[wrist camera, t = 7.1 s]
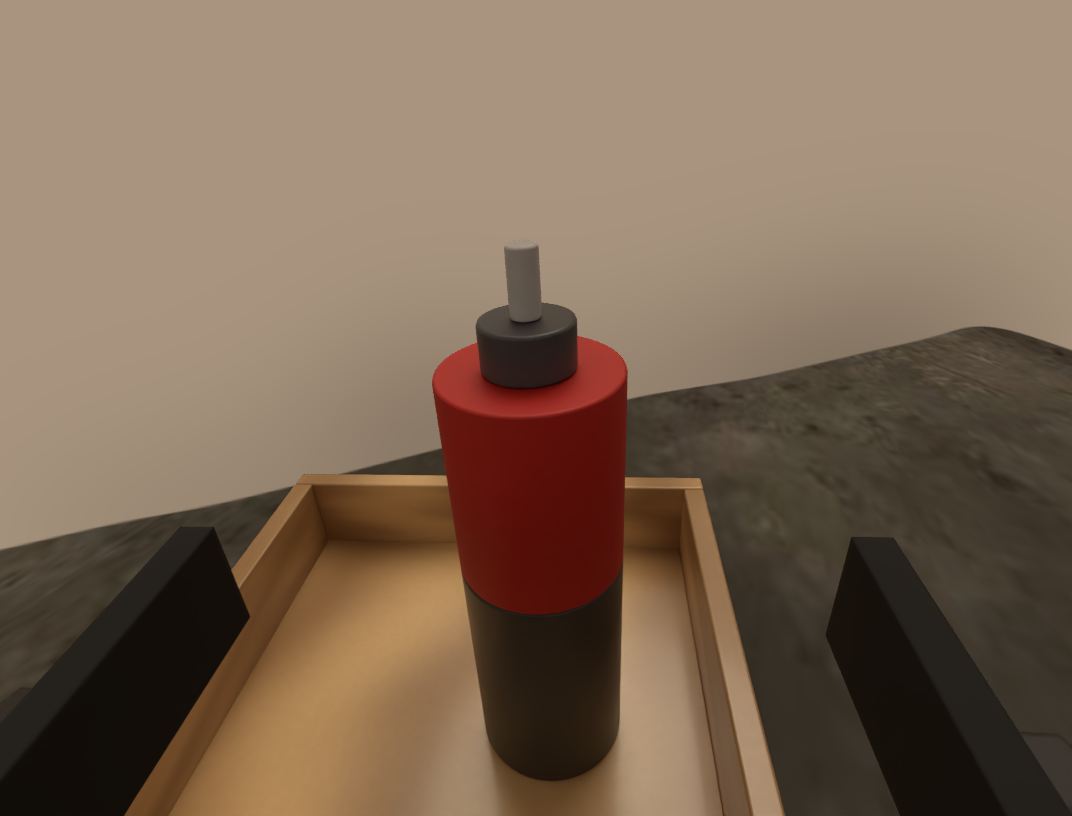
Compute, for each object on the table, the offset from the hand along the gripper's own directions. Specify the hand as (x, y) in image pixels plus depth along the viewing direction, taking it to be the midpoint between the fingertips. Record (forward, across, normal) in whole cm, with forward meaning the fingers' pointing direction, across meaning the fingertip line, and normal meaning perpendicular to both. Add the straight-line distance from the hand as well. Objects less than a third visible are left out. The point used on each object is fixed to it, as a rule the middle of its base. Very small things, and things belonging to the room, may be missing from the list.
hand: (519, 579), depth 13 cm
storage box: (+4, -3, -9) cm, 11 cm away
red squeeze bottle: (+3, 0, -9) cm, 9 cm away
